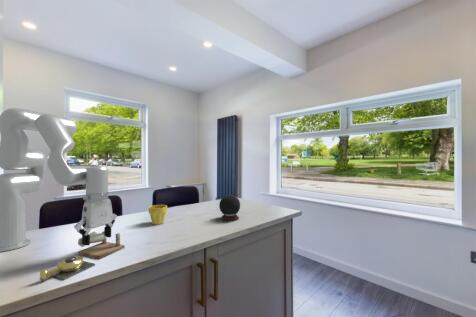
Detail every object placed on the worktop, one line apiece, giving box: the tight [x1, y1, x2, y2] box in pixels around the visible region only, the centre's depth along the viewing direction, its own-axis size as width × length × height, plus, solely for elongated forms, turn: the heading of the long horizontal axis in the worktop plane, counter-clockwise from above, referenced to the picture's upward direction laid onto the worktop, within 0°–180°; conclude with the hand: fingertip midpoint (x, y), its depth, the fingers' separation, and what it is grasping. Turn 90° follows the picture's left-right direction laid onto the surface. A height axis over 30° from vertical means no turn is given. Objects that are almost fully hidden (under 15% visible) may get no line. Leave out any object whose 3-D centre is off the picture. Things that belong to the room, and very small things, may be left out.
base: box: [51, 260, 96, 281], centre depth 74 cm, size 10×10×1 cm
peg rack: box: [77, 230, 126, 260], centre depth 89 cm, size 12×11×6 cm
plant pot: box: [148, 204, 168, 226], centre depth 128 cm, size 10×10×10 cm
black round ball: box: [218, 194, 241, 222], centre depth 137 cm, size 13×13×15 cm
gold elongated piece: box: [39, 255, 84, 281], centre depth 72 cm, size 7×12×3 cm, turn 159°
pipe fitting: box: [77, 230, 107, 248], centre depth 88 cm, size 8×4×7 cm
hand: (97, 240), depth 87 cm, fingers closed on pipe fitting, 8 cm apart
